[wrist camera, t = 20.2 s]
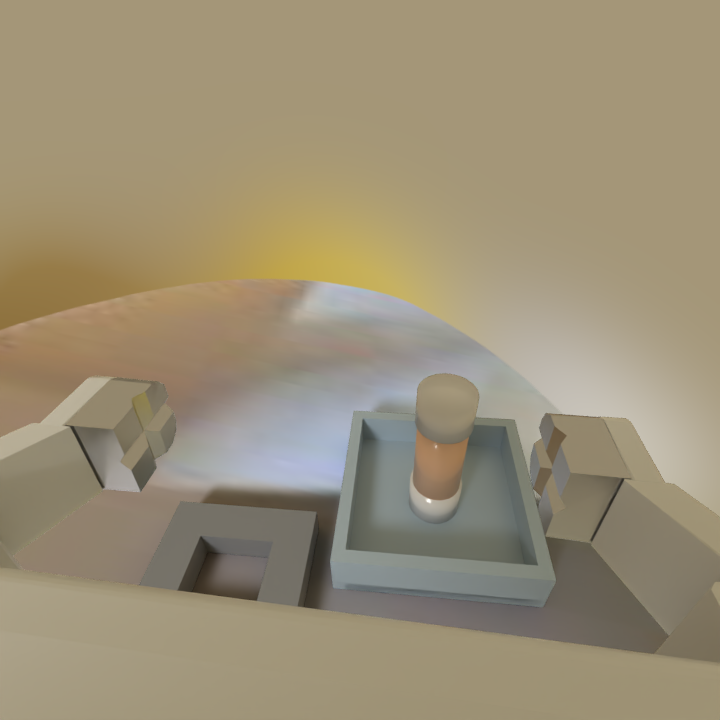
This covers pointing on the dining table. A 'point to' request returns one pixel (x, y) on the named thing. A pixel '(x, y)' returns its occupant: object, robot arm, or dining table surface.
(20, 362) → the dining table surface
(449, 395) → the cylinder
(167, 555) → the fuse holder
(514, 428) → the parts tray
